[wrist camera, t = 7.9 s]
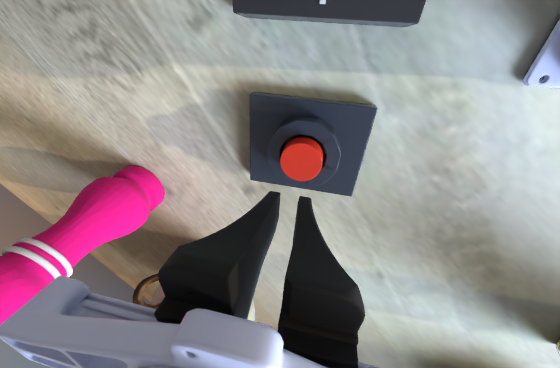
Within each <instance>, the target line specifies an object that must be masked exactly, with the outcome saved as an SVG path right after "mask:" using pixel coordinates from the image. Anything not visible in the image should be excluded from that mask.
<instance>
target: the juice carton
mask: <svg viewBox="0 0 560 368" xmlns="http://www.w3.org/2000/svg"><path fill="white" fill-rule="evenodd" d="M556 349H557V351H558V353H559V355H560V340H559V342H558V343H557V344H556Z"/></svg>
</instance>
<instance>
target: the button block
mask: <svg viewBox="0 0 560 368" xmlns="http://www.w3.org/2000/svg"><path fill="white" fill-rule="evenodd" d="M376 112H377V107H376V106H375V105H371V104H361V103H352V102H343V101H333V100H324V99H315V98H305V97H296V96H287V95H278V94H268V93H259V92H253V93H251V94H250V179H251V180H254V181H260V182H266V183H272V184H279V185H285V186H291V187H297V188H303V189H309V190H315V191H321V192H328V193H334V194H340V195H346V196H352V193H353V190H354V187H355V183H356V180H357V176H358V173H359V170H360V166H361V163H362V159H363V156H364V153H365V149H366V146H367V143H368V139H369V136H370V132H371V129H372V126H373V122H374V119H375V115H376ZM297 137H307V138H311V139H313V140H314V141H316V142H317V143H318V144H319V145H320V147H321V149H322V152H323V162H322V168H321V171H320V172H319V174H318V175H317V176H316V177H314V178H313V179H311V180H307V181H297V180H294V179H291V178H290V177H288V176H287V175H286V174H285V173H284V171H283V170H282V168H281V164H280V158H281V155H282V152H283V150H284V148H285V146H286V145H287V143H288V142H289V141H291V140H292V139H294V138H297Z"/></svg>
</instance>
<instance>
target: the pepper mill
mask: <svg viewBox="0 0 560 368" xmlns="http://www.w3.org/2000/svg"><path fill="white" fill-rule="evenodd" d="M164 195H165V193H164V188H163V186H162V184H161V183H160V181H159V180H158V179H157V178H156V177H155V176H154V175H153V174H152V173H151V172H149V171H148V170H146V169H144V168H141V167H138V166H129V167H126V168H124V169H123V170H121V171H119V172H117V173H116V174H115V175H114V176H113V177H102V178H99V179H96V180H95V181H93V182H92V183H90V184H89V185H88V186H86V187H85V188H84V189H83V190H82V191H81V192H80V193H79V195H78V196H77V197H76V199H75V200H74V202H73V203H72V205H71V206H70V208H69V209H68V211H67V212H66V214H65V215H64V216H63V217H62V218H61V219H60V220H59V221H58V222H57V223H56V224H54V225H53V226H51V227H50V228H49V229H47V230H46V231H44V232H42V233H40V234H38V235H36V236H35V237H33V238H21V239H19V240H17V241H16V243H15V244H13V245H12V246H9V247H6V248H4V249H3V251H2V256H0V325H1V324H2V323H3V322H4V321H6V320H7V319H8V318H9V317H10V316H11V315H13V314H14V313H15V312H16V311H17V310H19V309H20V308H21V307H22V306H23V305H25V304H26V303H27V302H28V301H29V300H31V299H32V298H33V297H34V296H35V295H37V294H38V293H39V292H40V291H41V290H43V289H44V288H45V287H46V286H47V285H49V284H50V283H51V282H52V281H53V280H55V279H56V278H57V277H58V276H64V277H70V276H71V275H72V273H73V269H72V268H73V267H74V266H75V265H76V264H77V263H78V262H79V261H80V260H81V259H82V258H83V257H84V256H86V255H87V254H88V253H89V252H91V251H92V250H93V249H95V248H97V247H99V246H100V245H102V244H104V243H107V242H109V241H111V240H114V239H117V238H120V237H123V236H125V235H128V234H130V233H132V232H133V231H135V230H137V229H138V228H139V227H141V226H142V225H143V224H144V223H145V222H146V221H147V219H148V217H149V213H150V211H152V210H153V209H155V208H156V207H157V206H158V205H159V204H160V203H161V202H162V201H163V199H164Z"/></svg>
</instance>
